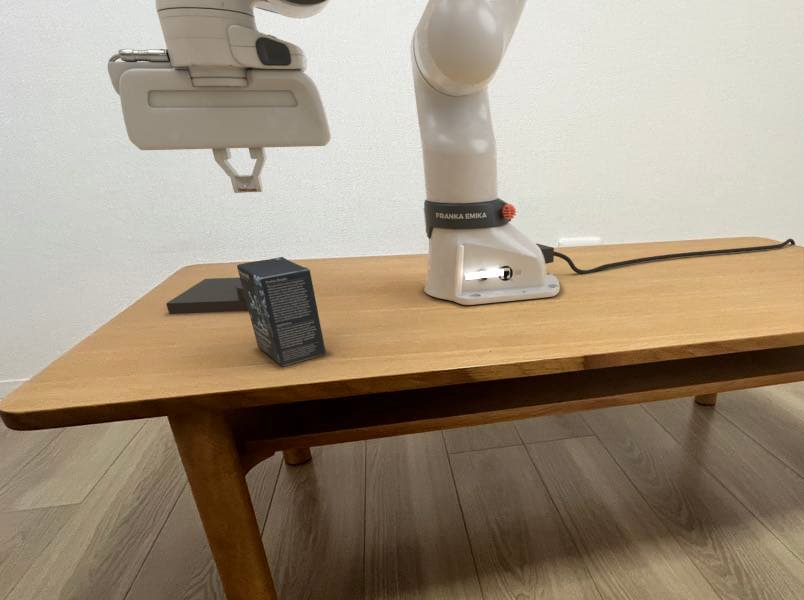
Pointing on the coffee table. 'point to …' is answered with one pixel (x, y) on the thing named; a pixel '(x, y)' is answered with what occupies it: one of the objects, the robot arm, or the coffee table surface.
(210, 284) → the scale
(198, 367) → the coffee table surface
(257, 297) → the box
